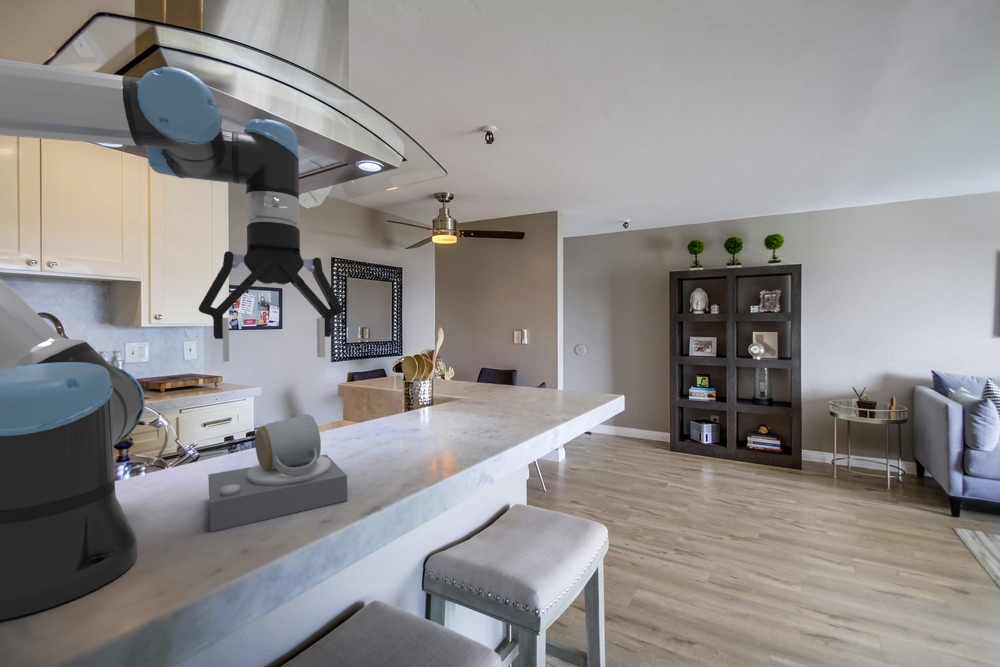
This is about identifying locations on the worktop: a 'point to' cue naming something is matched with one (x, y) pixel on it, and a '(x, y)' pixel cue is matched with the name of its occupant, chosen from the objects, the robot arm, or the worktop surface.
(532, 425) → the worktop surface
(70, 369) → the robot arm
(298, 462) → the ceramic mug
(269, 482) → the grey oval-top base
